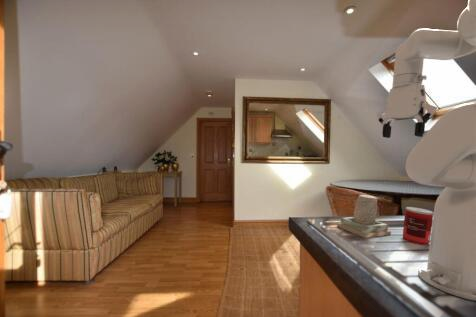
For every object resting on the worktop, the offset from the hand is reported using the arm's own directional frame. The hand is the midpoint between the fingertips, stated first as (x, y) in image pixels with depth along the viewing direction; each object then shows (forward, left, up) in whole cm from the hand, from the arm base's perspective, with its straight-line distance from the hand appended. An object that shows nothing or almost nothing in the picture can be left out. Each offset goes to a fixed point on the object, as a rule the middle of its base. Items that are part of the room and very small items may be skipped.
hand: (401, 136), depth 76 cm
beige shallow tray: (+4, +12, -35) cm, 37 cm away
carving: (+4, +12, -34) cm, 36 cm away
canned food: (+14, 0, -35) cm, 38 cm away
